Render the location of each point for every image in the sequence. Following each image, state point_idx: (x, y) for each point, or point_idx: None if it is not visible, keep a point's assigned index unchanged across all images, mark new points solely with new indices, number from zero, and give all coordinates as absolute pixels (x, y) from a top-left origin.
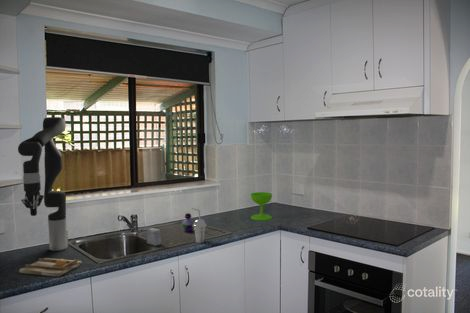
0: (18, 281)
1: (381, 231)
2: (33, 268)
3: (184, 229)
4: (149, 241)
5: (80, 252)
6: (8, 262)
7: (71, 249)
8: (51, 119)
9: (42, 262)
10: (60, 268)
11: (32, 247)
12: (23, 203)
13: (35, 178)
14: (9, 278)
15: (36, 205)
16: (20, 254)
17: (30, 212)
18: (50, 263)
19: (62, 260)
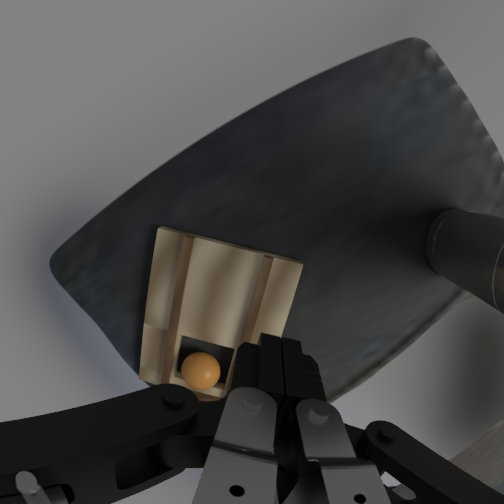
0: (92, 268)
1: None
2: (172, 279)
3: None
4: None
5: (389, 352)
6: (286, 105)
7: (432, 302)
8: None
9: (242, 282)
10: (161, 381)
11: (468, 124)
12: (30, 421)
13: None
14: (111, 221)
15: (289, 484)
16: (390, 108)
17: (236, 360)
18: (230, 320)
19: (192, 387)
